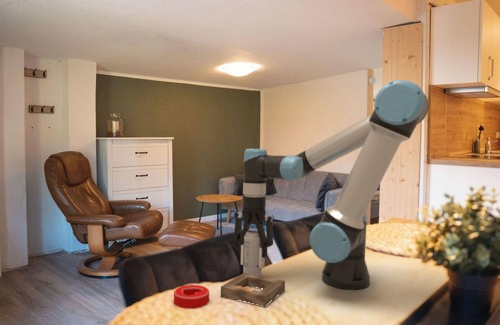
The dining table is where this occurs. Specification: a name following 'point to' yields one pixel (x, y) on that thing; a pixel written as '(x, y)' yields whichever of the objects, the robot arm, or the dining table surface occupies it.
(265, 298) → the frame
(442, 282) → the dining table surface
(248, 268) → the energy drink can
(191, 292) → the decorative ornament
